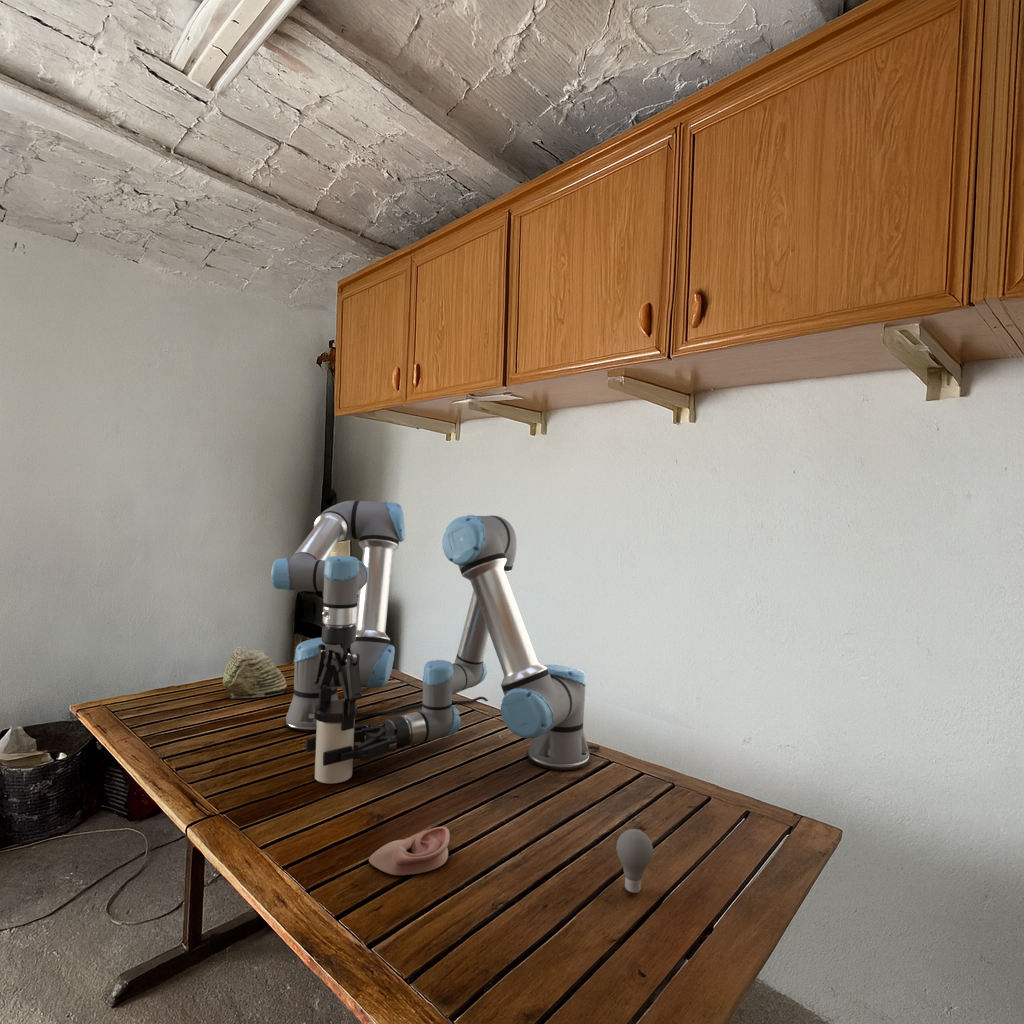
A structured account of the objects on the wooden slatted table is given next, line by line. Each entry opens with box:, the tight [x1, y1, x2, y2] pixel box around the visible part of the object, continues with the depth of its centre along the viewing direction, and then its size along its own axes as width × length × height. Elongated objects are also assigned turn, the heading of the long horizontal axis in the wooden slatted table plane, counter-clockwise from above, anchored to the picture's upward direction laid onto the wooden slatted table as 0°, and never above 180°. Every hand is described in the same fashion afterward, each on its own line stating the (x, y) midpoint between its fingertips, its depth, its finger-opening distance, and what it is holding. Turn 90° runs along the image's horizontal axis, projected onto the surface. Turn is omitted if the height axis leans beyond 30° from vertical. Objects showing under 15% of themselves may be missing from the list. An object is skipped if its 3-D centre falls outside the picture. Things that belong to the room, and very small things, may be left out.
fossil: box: [222, 646, 288, 699], centre depth 198 cm, size 9×18×15 cm, turn 132°
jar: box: [313, 717, 356, 784], centre depth 144 cm, size 8×8×15 cm
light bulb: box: [615, 828, 654, 894], centre depth 106 cm, size 6×6×10 cm
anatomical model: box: [368, 826, 451, 876], centre depth 112 cm, size 13×4×12 cm
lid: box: [314, 699, 359, 723], centre depth 144 cm, size 9×9×2 cm
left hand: (335, 722), depth 144 cm, fingers closed on lid, 9 cm apart
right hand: (315, 752), depth 141 cm, fingers closed on jar, 8 cm apart
